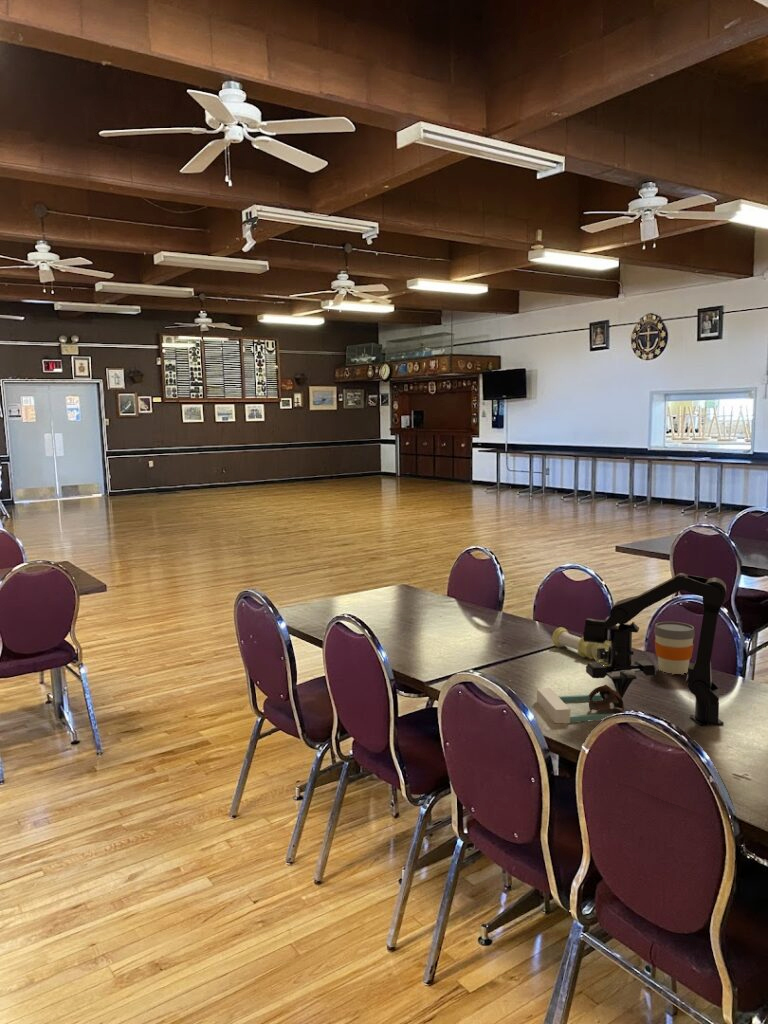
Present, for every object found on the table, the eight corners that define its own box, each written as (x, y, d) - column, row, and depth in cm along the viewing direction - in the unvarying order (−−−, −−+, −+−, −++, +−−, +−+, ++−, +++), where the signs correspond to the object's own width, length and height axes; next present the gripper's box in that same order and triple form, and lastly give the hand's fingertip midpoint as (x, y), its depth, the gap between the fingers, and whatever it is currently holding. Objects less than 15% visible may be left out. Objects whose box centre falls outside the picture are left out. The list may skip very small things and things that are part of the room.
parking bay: (624, 720, 204) (624, 706, 203) (555, 724, 202) (556, 709, 201) (600, 698, 220) (600, 685, 220) (536, 701, 218) (536, 688, 218)
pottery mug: (630, 720, 205) (618, 697, 203) (598, 731, 208) (586, 709, 206) (623, 694, 216) (611, 672, 214) (593, 705, 219) (581, 684, 217)
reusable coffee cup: (644, 667, 249) (646, 623, 247) (674, 662, 253) (675, 619, 251) (671, 678, 237) (672, 633, 235) (702, 673, 241) (703, 629, 240)
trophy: (550, 627, 272) (608, 646, 245) (566, 624, 275) (625, 643, 249) (550, 648, 273) (608, 670, 246) (565, 645, 276) (624, 667, 249)
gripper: (640, 636, 219) (638, 686, 221) (579, 638, 217) (578, 690, 219) (657, 646, 208) (656, 700, 210) (593, 649, 206) (592, 703, 208)
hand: (620, 698), depth 212 cm, fingers closed
